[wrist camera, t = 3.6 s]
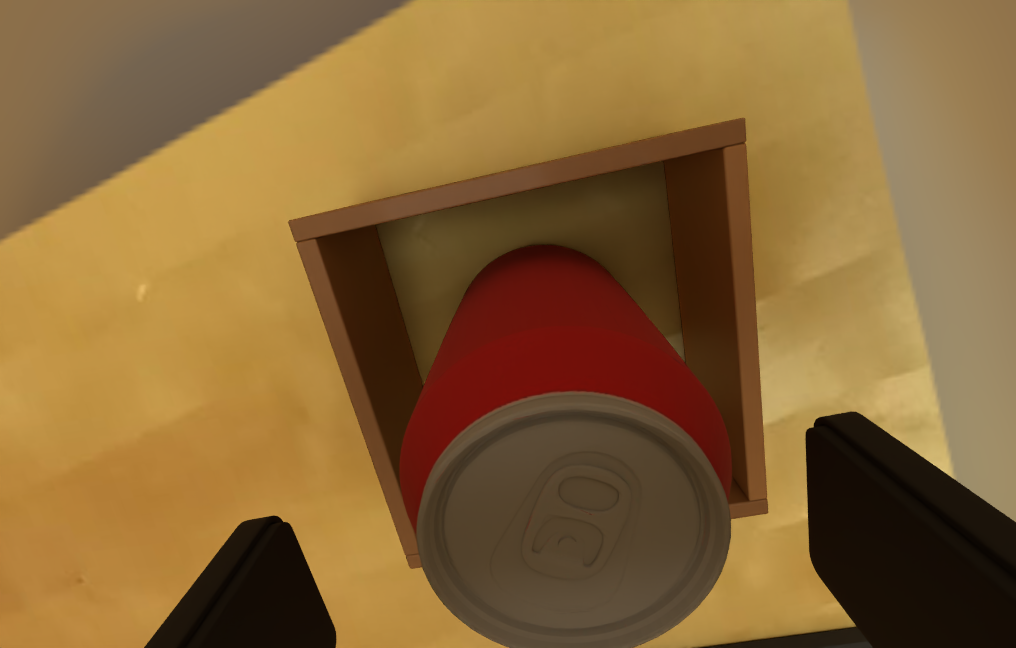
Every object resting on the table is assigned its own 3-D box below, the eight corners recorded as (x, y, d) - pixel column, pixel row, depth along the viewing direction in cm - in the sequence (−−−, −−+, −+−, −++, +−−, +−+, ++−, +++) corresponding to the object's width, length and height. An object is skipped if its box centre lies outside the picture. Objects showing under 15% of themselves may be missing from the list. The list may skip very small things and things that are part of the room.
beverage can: (441, 374, 20) (341, 639, 9) (484, 218, 18) (425, 305, 7) (592, 416, 21) (679, 719, 9) (651, 268, 19) (853, 429, 7)
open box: (677, 132, 17) (746, 116, 12) (706, 426, 21) (769, 514, 16) (353, 205, 18) (287, 221, 13) (435, 473, 22) (409, 569, 17)
